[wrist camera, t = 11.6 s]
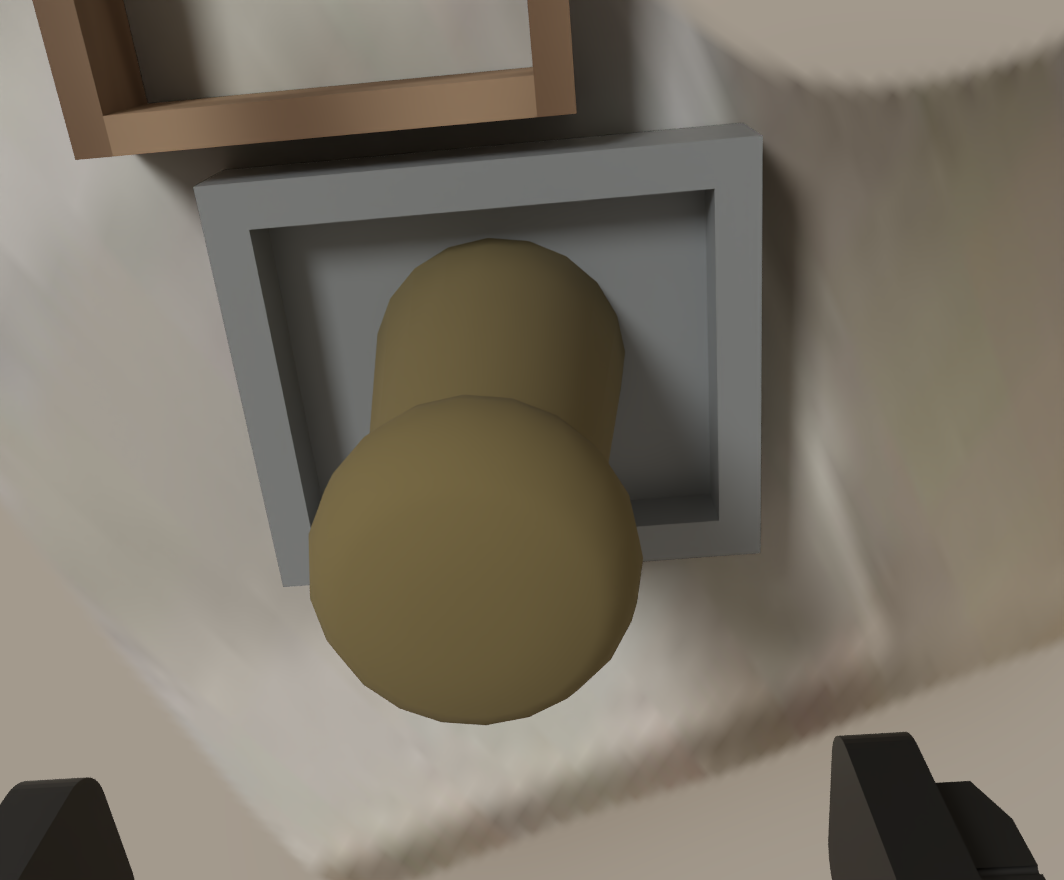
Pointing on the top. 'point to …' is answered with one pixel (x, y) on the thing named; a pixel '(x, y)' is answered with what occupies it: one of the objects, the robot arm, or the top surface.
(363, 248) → the tray
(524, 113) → the socket block
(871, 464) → the top surface
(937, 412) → the top surface
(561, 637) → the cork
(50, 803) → the robot arm
